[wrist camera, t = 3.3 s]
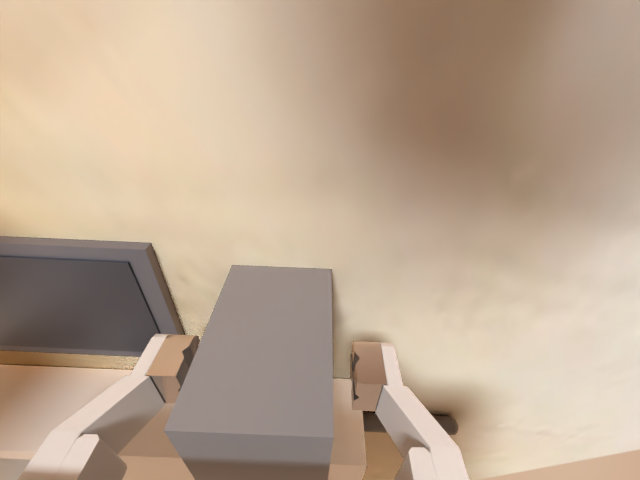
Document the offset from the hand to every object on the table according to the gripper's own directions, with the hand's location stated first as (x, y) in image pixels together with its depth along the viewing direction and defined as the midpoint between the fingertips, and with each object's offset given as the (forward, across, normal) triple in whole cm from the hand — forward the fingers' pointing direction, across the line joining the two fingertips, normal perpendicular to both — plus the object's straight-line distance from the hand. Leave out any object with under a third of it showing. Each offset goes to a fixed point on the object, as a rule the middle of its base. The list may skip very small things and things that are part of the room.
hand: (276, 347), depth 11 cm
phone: (+3, +12, 0) cm, 12 cm away
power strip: (+2, +4, +10) cm, 11 cm away
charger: (+2, 0, 0) cm, 2 cm away
